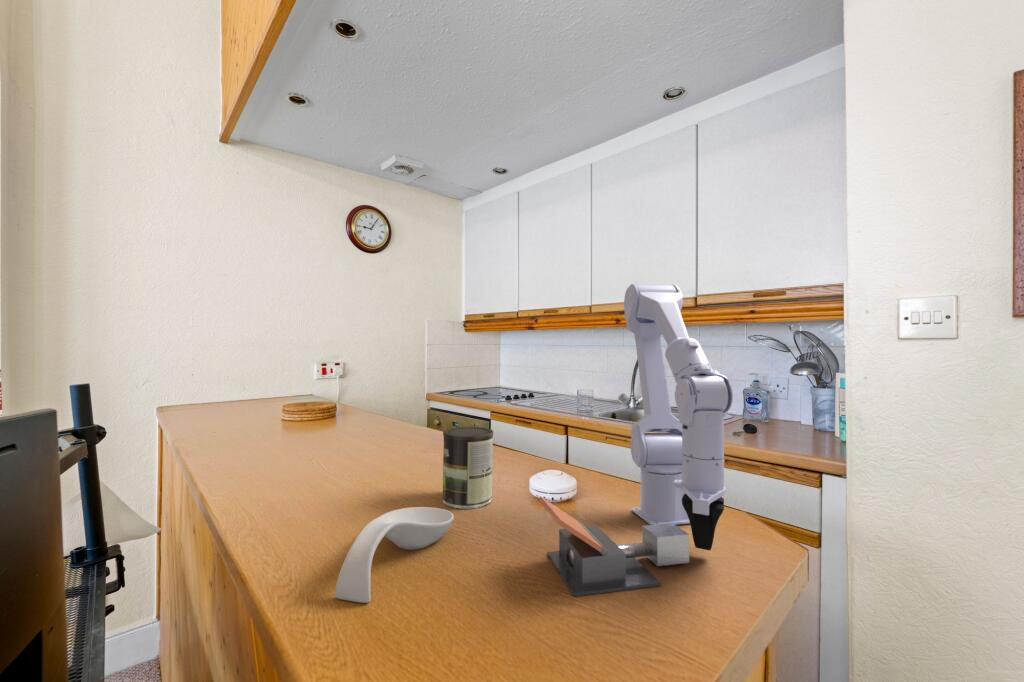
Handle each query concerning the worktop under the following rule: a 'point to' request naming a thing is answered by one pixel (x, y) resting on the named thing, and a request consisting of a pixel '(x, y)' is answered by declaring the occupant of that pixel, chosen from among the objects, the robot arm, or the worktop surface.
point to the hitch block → (598, 566)
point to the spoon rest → (400, 528)
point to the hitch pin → (658, 545)
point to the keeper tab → (573, 526)
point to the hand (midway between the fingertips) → (703, 547)
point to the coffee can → (467, 467)
